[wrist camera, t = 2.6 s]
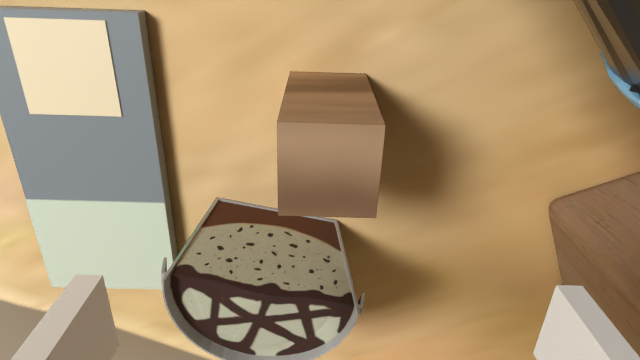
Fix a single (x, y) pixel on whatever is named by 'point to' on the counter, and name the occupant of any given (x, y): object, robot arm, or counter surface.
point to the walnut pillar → (329, 146)
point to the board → (88, 142)
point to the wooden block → (603, 249)
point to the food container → (262, 284)
